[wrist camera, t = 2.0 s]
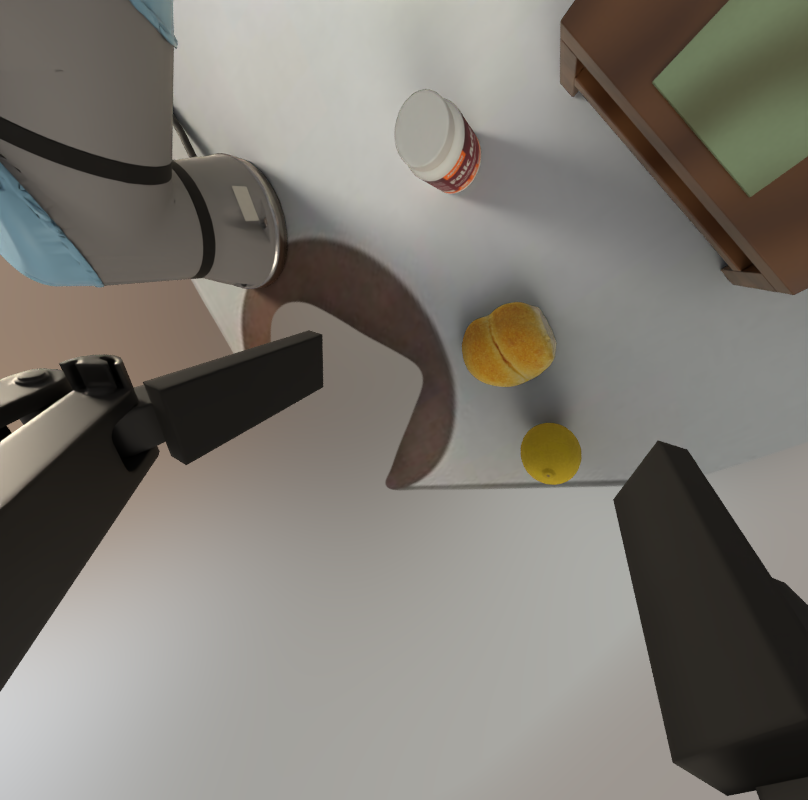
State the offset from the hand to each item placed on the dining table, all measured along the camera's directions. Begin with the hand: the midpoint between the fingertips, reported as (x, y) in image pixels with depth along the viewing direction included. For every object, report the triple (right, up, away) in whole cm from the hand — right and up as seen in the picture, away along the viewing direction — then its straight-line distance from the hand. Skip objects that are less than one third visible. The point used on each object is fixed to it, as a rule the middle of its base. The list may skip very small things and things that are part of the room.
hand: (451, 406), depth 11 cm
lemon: (+15, -3, +21) cm, 26 cm away
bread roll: (+9, +6, +19) cm, 22 cm away
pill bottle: (+3, +22, +15) cm, 27 cm away
